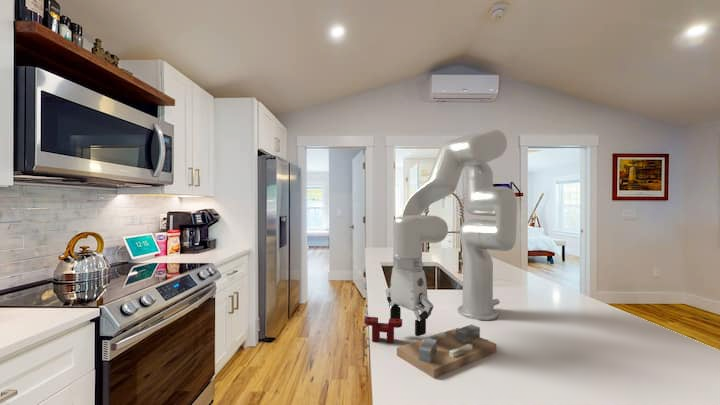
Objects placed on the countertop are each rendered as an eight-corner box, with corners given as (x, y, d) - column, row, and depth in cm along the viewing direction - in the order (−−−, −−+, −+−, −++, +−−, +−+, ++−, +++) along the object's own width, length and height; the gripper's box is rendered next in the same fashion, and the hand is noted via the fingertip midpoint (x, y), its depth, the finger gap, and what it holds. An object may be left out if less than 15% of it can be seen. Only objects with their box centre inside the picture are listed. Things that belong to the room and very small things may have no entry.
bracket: (401, 323, 82) (363, 320, 84) (401, 344, 82) (363, 341, 84) (402, 319, 85) (365, 316, 86) (402, 339, 85) (365, 336, 87)
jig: (457, 335, 88) (457, 318, 88) (496, 352, 78) (496, 333, 78) (396, 355, 76) (396, 337, 76) (433, 379, 66) (433, 357, 66)
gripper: (442, 267, 78) (442, 336, 78) (397, 257, 93) (397, 315, 93) (420, 271, 74) (420, 344, 74) (376, 260, 88) (376, 321, 88)
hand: (407, 328), depth 83 cm, fingers open, 9 cm apart
